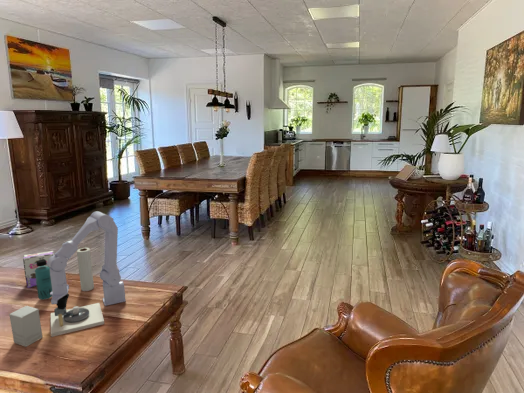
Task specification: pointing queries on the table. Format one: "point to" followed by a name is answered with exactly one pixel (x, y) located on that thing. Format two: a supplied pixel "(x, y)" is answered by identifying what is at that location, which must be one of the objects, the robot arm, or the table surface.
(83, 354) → the table surface
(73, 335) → the table surface
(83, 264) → the paper towel roll
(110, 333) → the table surface
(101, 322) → the base plate
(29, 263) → the candy box
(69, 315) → the flange
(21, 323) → the supplement box
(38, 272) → the beverage bottle
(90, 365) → the table surface
